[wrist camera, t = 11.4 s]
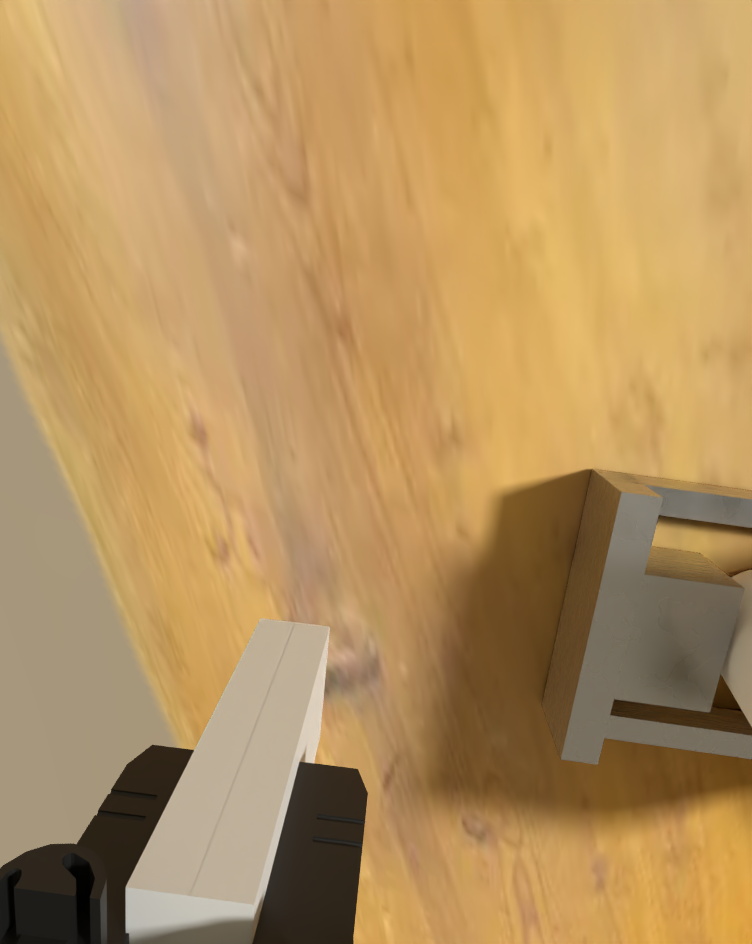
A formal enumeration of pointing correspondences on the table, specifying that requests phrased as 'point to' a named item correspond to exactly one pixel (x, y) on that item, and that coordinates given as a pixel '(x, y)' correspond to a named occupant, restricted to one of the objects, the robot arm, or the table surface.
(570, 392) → the table surface
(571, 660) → the frame
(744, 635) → the cup
